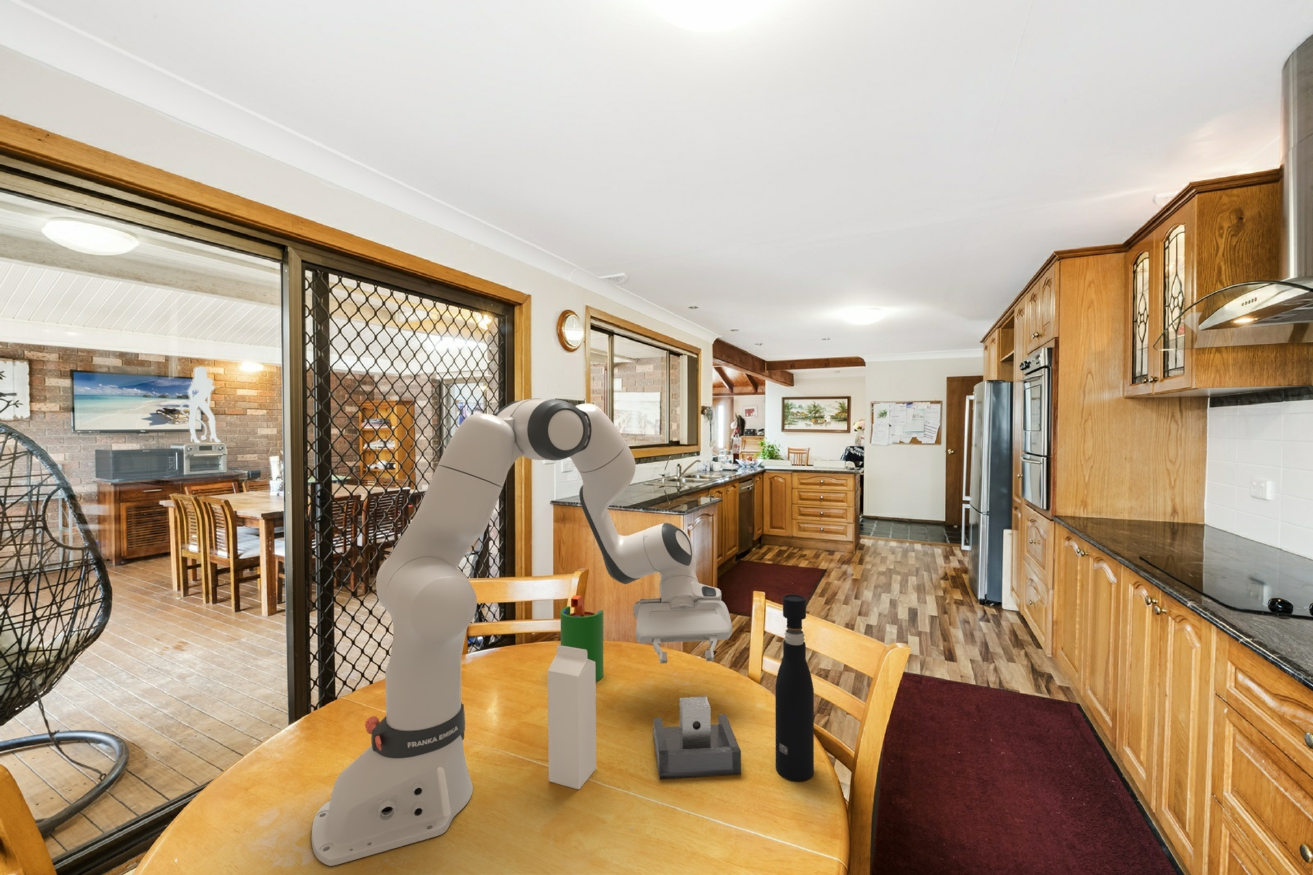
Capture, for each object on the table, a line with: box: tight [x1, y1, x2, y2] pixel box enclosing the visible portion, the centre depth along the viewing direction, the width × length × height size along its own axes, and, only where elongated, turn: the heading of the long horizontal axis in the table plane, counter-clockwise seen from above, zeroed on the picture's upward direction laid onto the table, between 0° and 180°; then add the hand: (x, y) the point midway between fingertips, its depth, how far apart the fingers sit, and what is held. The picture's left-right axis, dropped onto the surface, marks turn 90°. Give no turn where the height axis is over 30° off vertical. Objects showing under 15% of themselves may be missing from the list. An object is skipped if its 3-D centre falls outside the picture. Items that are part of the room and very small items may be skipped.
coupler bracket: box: [652, 714, 742, 780], centre depth 99 cm, size 14×14×4 cm
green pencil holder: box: [560, 594, 604, 683], centre depth 129 cm, size 10×9×20 cm
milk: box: [547, 644, 597, 790], centre depth 92 cm, size 6×6×22 cm
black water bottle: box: [774, 594, 815, 783], centre depth 93 cm, size 6×6×30 cm
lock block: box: [679, 696, 712, 750], centre depth 97 cm, size 4×5×9 cm
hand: (686, 661), depth 109 cm, fingers open, 8 cm apart
